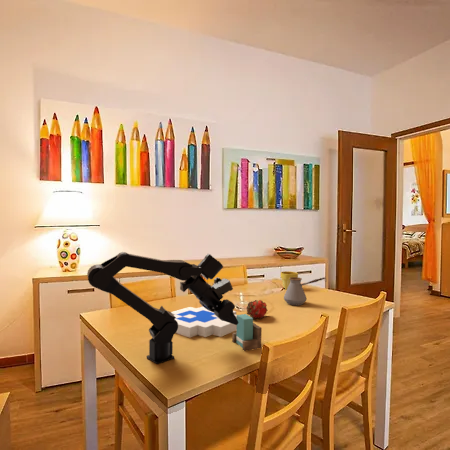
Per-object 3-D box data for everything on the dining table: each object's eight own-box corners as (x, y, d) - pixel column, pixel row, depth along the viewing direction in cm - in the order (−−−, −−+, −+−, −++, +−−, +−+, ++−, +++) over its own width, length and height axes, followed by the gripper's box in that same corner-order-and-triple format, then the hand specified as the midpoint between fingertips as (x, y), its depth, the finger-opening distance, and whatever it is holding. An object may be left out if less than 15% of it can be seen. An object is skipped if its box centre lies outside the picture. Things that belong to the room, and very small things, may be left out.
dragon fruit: (246, 324, 150) (262, 322, 158) (260, 315, 145) (276, 314, 154) (238, 305, 154) (255, 304, 162) (252, 296, 149) (269, 296, 158)
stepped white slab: (205, 332, 124) (154, 316, 141) (205, 344, 124) (154, 326, 142) (251, 315, 145) (202, 303, 163) (251, 324, 145) (202, 311, 163)
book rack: (244, 351, 117) (244, 330, 117) (232, 341, 126) (232, 321, 125) (261, 348, 120) (261, 327, 119) (248, 338, 128) (248, 319, 128)
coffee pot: (279, 304, 176) (280, 274, 176) (288, 299, 186) (289, 271, 185) (321, 311, 165) (322, 279, 164) (329, 305, 174) (329, 275, 174)
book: (243, 348, 119) (243, 319, 119) (236, 343, 124) (236, 315, 124) (252, 347, 120) (253, 318, 120) (245, 341, 126) (245, 313, 125)
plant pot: (301, 289, 210) (301, 273, 209) (287, 291, 204) (288, 274, 204) (289, 286, 218) (290, 270, 218) (276, 288, 213) (277, 271, 213)
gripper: (229, 276, 109) (260, 308, 113) (208, 267, 126) (235, 295, 131) (205, 304, 106) (237, 335, 111) (186, 290, 123) (215, 318, 128)
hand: (231, 319), depth 120 cm, fingers open, 9 cm apart
